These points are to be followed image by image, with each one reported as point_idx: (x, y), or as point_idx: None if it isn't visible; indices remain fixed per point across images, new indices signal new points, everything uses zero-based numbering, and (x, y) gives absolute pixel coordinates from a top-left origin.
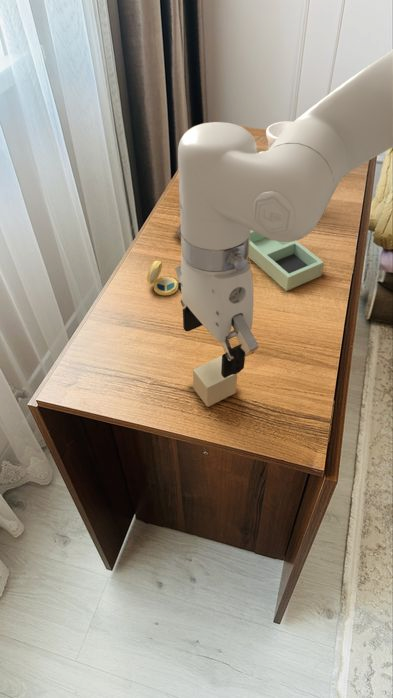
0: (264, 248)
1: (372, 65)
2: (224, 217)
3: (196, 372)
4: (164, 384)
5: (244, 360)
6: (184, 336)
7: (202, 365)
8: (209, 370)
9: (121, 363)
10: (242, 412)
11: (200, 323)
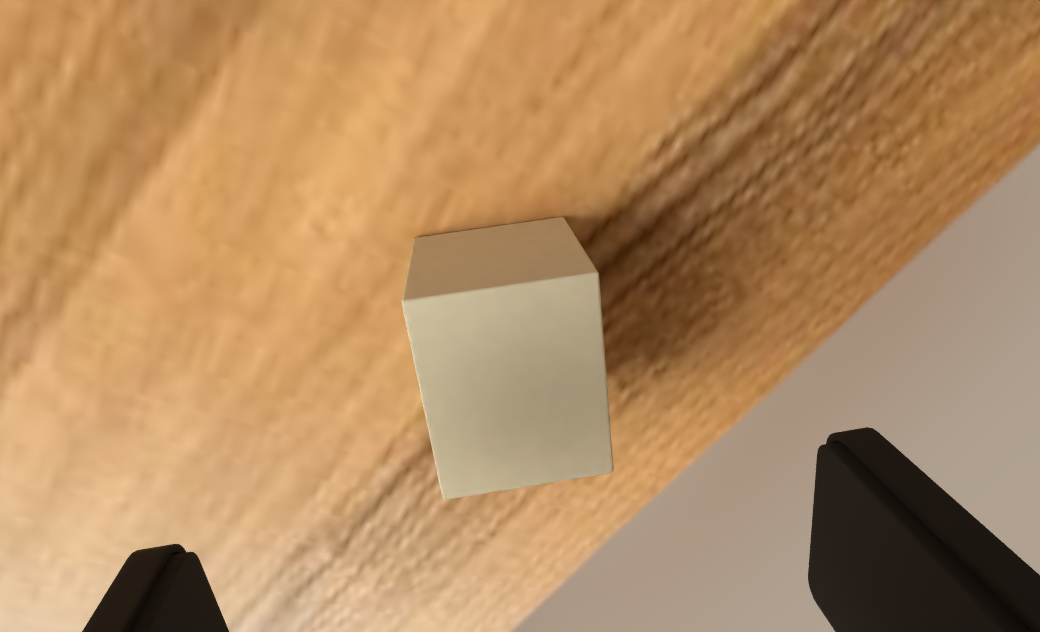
0: None
1: None
2: None
3: (475, 488)
4: (364, 504)
5: (941, 491)
6: (26, 317)
7: (437, 444)
8: (493, 419)
9: None
10: (688, 240)
11: (192, 608)
